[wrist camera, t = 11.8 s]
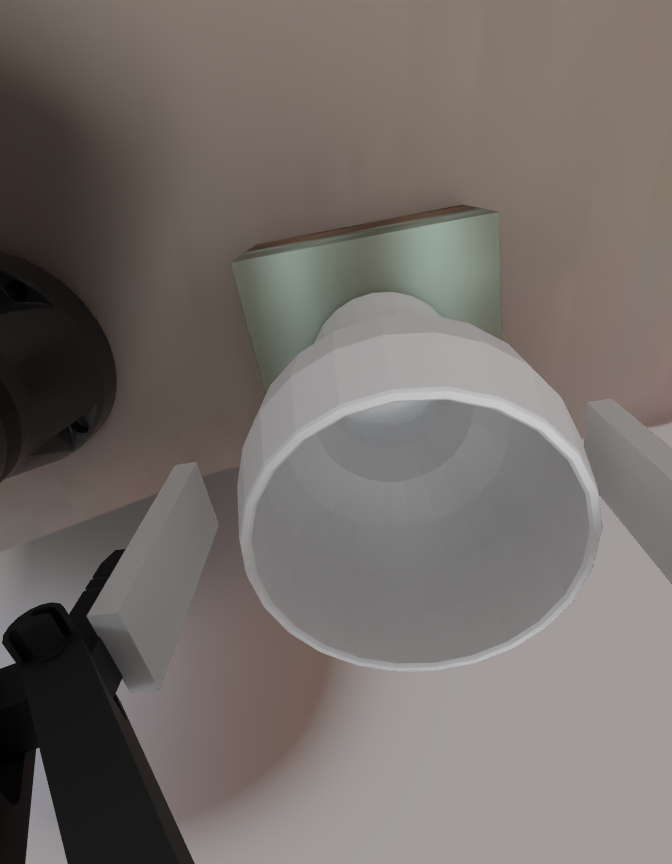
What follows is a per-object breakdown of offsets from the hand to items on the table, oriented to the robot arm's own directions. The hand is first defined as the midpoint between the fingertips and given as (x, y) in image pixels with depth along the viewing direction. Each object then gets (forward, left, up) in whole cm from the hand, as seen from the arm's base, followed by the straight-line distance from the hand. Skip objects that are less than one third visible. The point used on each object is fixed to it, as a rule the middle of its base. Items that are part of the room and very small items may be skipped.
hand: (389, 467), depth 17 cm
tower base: (0, 0, -19) cm, 19 cm away
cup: (0, 0, -11) cm, 11 cm away
